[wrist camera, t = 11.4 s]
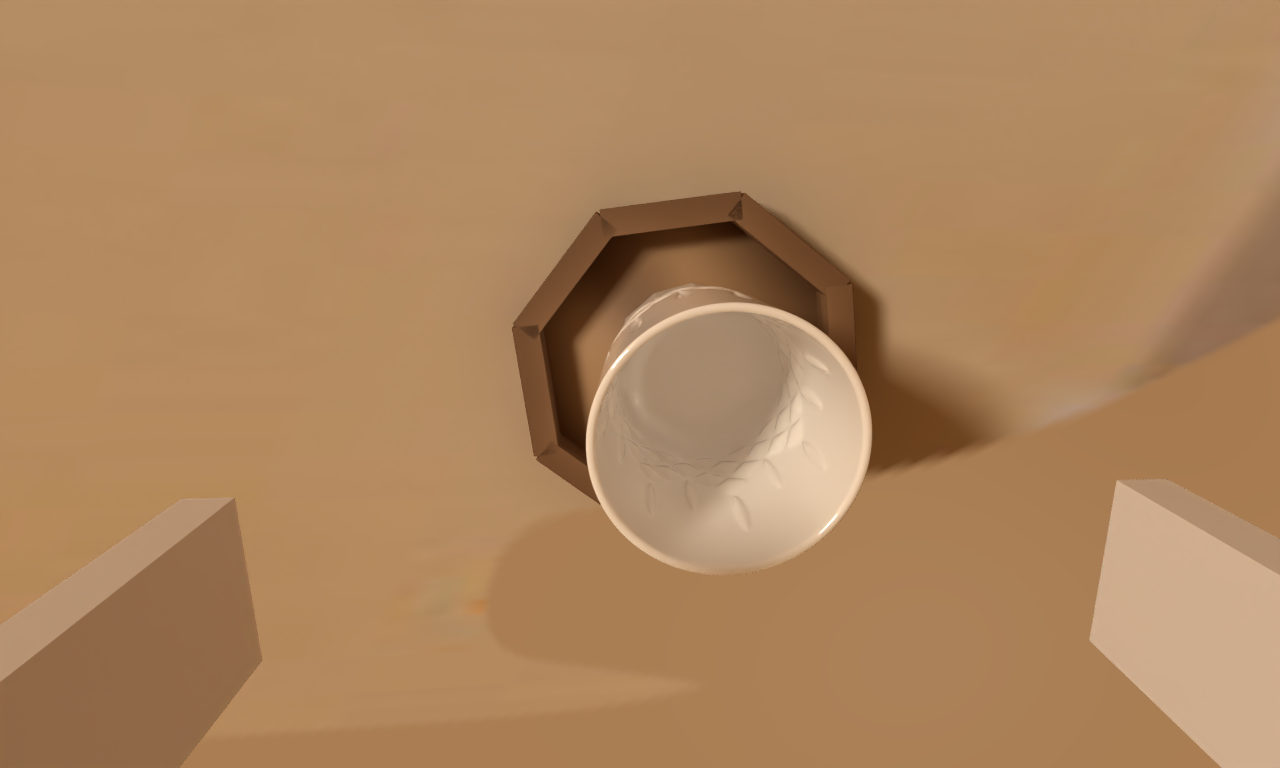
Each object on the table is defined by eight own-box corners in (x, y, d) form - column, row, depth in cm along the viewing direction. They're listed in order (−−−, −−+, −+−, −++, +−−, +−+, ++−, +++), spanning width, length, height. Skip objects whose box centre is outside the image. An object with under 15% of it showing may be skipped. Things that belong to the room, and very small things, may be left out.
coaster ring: (658, 129, 28) (661, 123, 26) (903, 332, 30) (924, 342, 28) (465, 389, 30) (454, 402, 28) (707, 559, 32) (712, 583, 30)
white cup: (820, 402, 30) (917, 498, 20) (653, 487, 31) (669, 620, 21) (736, 231, 28) (799, 247, 18) (560, 327, 29) (532, 391, 19)
